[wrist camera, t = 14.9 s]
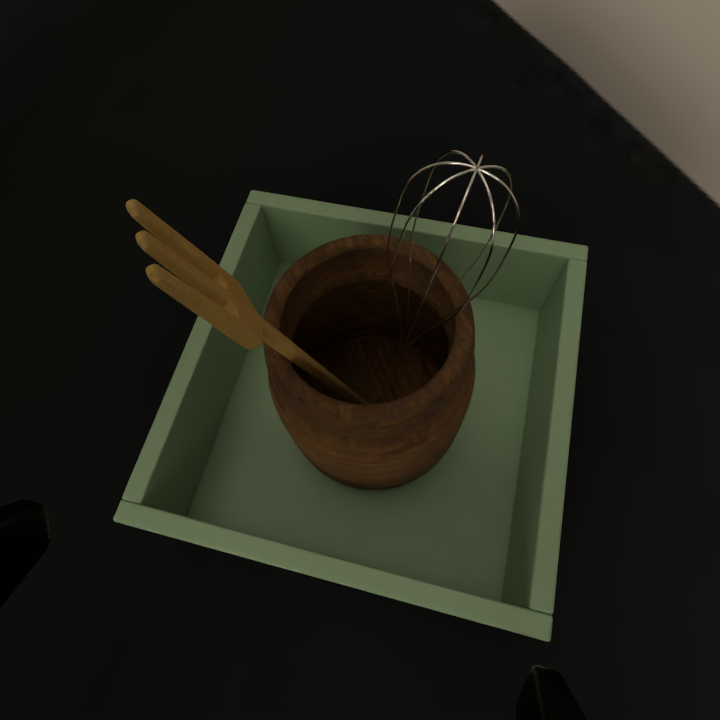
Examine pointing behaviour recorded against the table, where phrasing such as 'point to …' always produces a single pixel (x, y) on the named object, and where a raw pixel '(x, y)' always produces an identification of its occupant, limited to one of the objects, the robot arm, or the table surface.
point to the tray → (410, 501)
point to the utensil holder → (349, 341)
